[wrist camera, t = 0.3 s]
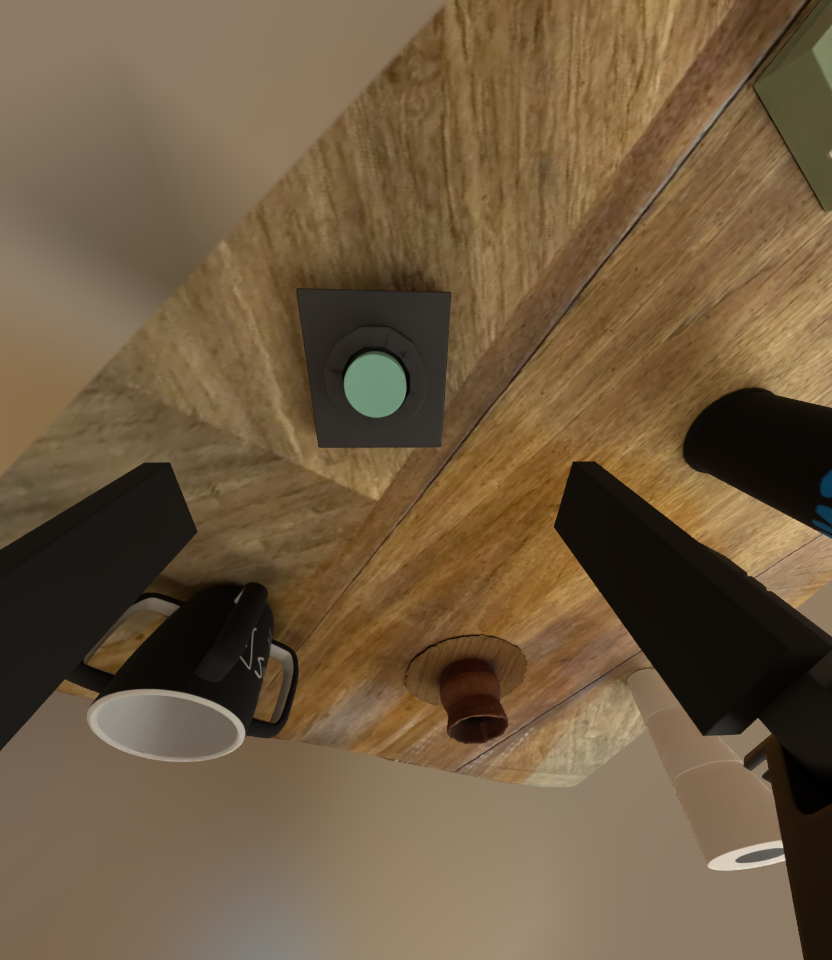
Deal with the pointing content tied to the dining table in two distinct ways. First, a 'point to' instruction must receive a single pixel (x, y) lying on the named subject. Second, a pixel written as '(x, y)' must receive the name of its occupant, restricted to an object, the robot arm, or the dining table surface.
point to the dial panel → (805, 98)
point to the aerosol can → (769, 452)
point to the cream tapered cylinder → (710, 783)
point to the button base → (386, 328)
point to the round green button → (375, 384)
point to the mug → (192, 678)
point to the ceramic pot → (469, 684)
